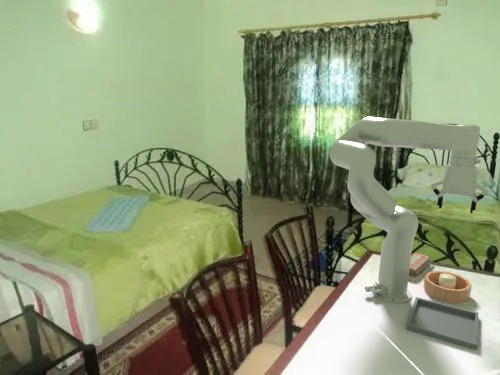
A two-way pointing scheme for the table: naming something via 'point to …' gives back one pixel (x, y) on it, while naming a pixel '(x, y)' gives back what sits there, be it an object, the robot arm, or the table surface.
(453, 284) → the egg
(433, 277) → the bowl
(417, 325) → the tray
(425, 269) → the packaged product
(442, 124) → the robot arm
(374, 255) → the table surface
